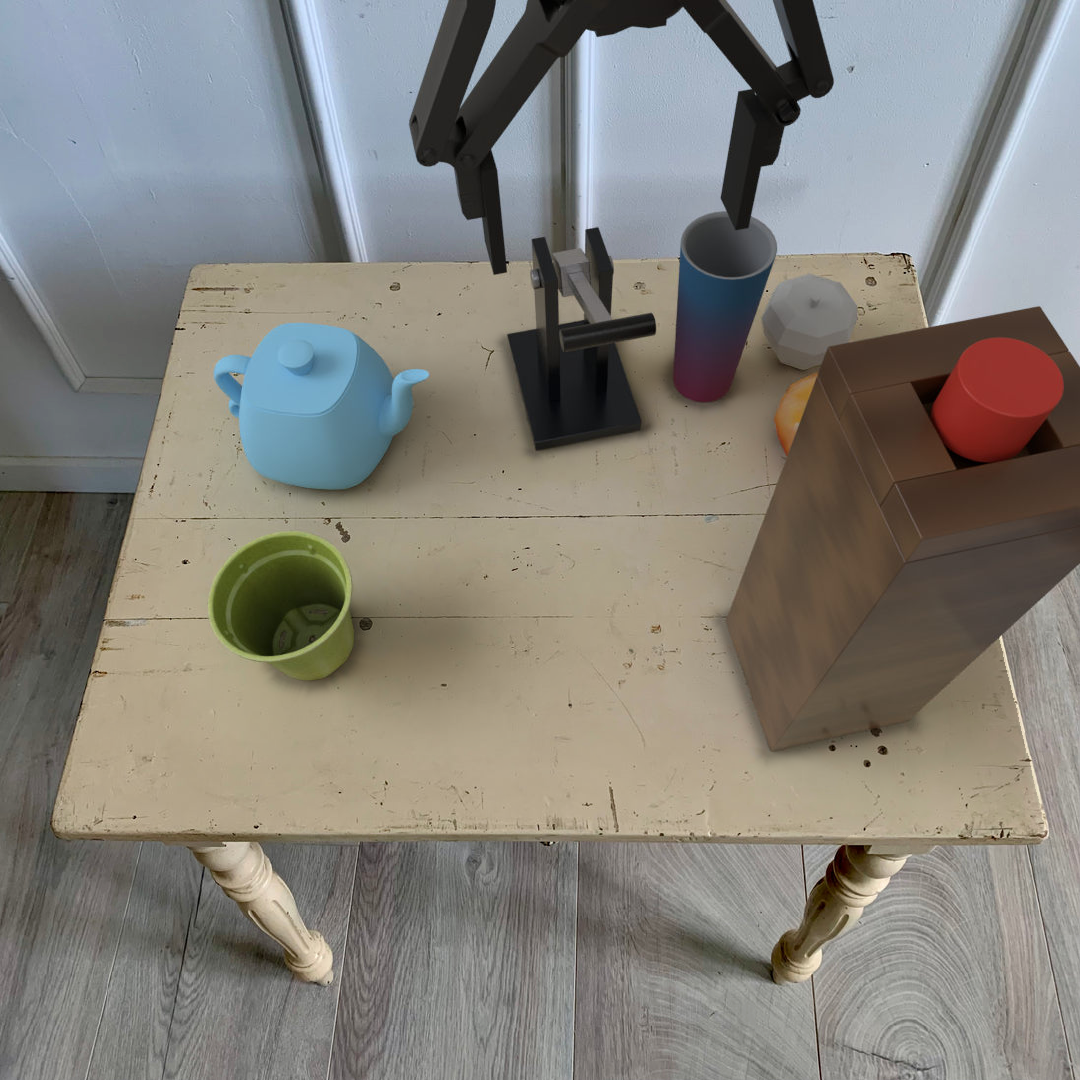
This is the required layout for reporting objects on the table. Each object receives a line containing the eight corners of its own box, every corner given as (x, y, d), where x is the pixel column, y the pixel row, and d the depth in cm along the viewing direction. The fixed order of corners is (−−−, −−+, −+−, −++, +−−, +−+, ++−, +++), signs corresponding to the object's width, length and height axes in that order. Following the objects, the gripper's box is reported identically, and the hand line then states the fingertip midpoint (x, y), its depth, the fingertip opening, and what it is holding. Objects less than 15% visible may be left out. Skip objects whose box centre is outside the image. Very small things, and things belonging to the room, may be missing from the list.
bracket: (641, 430, 74) (655, 303, 61) (535, 451, 73) (527, 327, 60) (605, 324, 79) (612, 187, 66) (507, 342, 79) (494, 208, 66)
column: (909, 720, 61) (1161, 489, 35) (770, 752, 60) (921, 539, 34) (854, 593, 66) (1040, 305, 40) (725, 620, 65) (827, 345, 39)
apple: (749, 316, 79) (762, 261, 74) (838, 317, 79) (859, 261, 73) (756, 387, 75) (771, 334, 70) (850, 388, 75) (872, 335, 69)
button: (1045, 453, 37) (1084, 405, 34) (954, 471, 36) (986, 425, 34) (1001, 379, 39) (1034, 328, 36) (914, 396, 38) (941, 346, 36)
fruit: (911, 467, 69) (887, 422, 63) (814, 507, 73) (782, 469, 66) (875, 387, 73) (849, 338, 67) (785, 429, 76) (752, 385, 70)
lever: (657, 345, 57) (655, 310, 55) (565, 363, 56) (561, 327, 55) (608, 274, 67) (606, 243, 65) (530, 288, 66) (526, 257, 65)
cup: (758, 386, 76) (797, 251, 62) (696, 424, 74) (722, 293, 61) (707, 336, 78) (734, 197, 65) (646, 372, 77) (661, 237, 64)
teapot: (406, 438, 61) (162, 406, 63) (428, 517, 70) (215, 487, 72) (448, 303, 67) (223, 278, 69) (463, 392, 76) (265, 368, 78)
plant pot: (369, 705, 63) (342, 660, 55) (239, 704, 63) (194, 660, 56) (383, 586, 67) (359, 530, 60) (261, 586, 68) (222, 530, 60)
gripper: (933, -340, 33) (807, 152, 52) (270, -246, 32) (385, 228, 50) (1029, -258, 30) (856, 240, 48) (284, -147, 28) (402, 325, 46)
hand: (616, 235), depth 49 cm, fingers open, 13 cm apart
